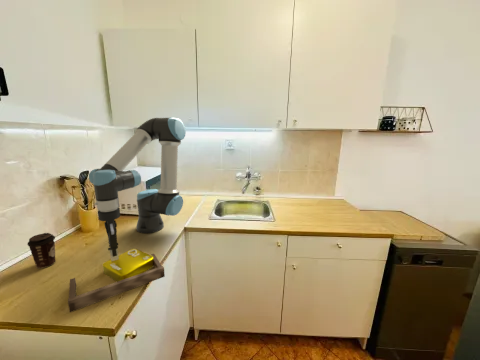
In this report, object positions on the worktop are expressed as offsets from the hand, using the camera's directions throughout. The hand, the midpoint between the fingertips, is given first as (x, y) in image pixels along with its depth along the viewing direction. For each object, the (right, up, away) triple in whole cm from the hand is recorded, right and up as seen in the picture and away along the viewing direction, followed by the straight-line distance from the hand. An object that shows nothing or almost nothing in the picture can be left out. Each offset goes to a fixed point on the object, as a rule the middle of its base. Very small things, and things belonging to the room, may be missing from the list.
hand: (115, 261), depth 90 cm
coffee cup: (-31, -2, +2) cm, 31 cm away
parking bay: (+6, -5, -8) cm, 11 cm away
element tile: (+6, -4, 0) cm, 7 cm away
